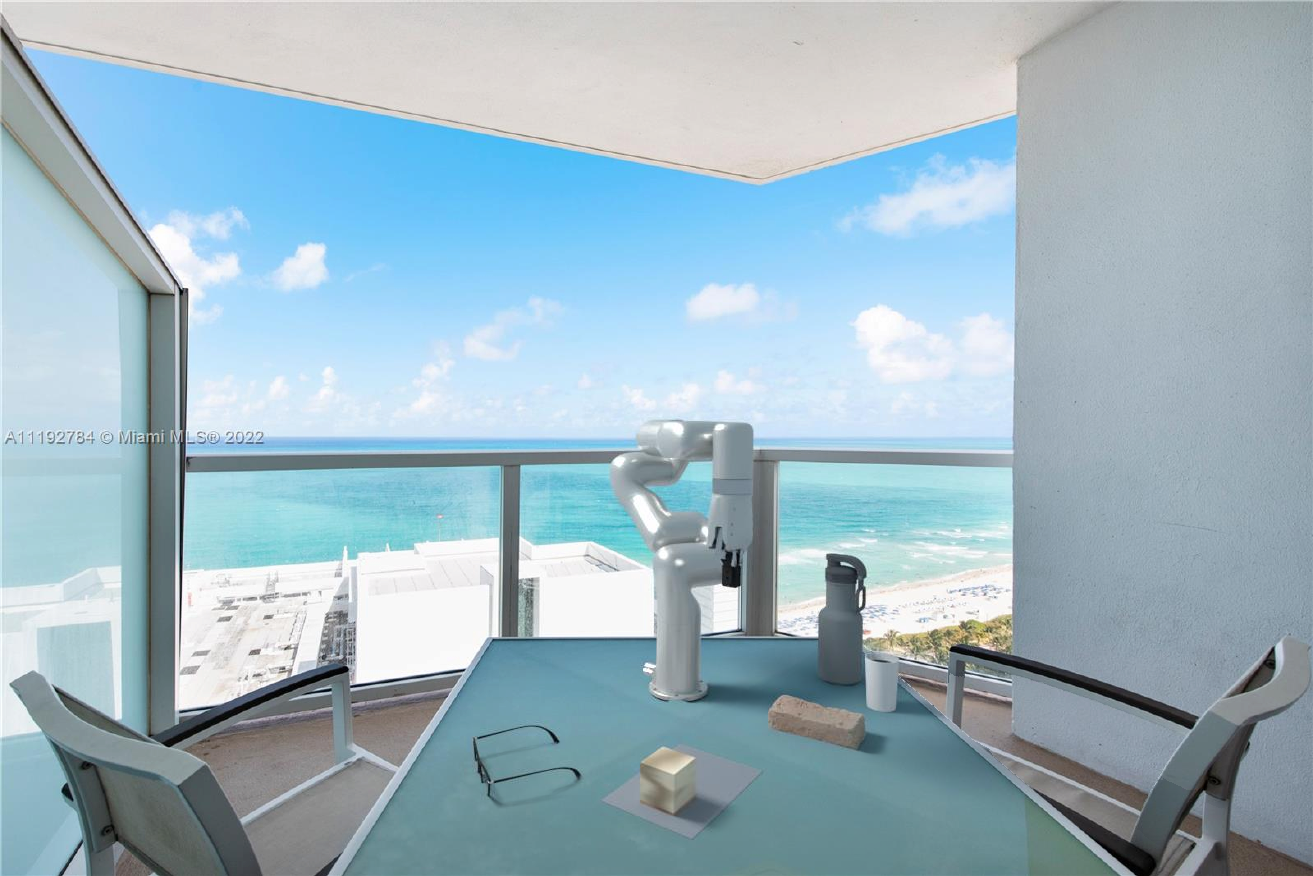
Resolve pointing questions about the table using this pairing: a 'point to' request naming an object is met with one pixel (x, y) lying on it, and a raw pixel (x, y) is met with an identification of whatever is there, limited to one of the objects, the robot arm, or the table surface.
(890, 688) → the white cup
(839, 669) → the water bottle
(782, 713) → the brick
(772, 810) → the table surface
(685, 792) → the cube
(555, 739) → the eyeglasses
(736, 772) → the mat
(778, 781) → the table surface
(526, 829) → the table surface
